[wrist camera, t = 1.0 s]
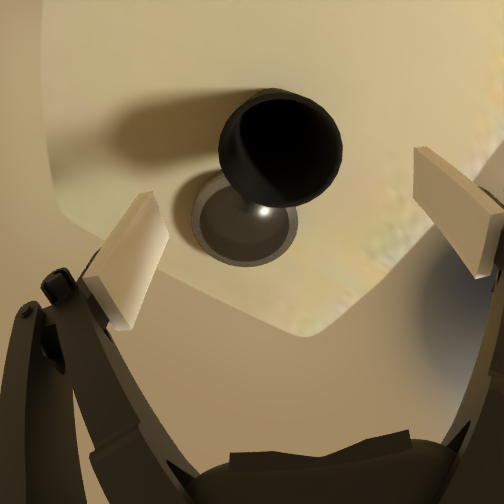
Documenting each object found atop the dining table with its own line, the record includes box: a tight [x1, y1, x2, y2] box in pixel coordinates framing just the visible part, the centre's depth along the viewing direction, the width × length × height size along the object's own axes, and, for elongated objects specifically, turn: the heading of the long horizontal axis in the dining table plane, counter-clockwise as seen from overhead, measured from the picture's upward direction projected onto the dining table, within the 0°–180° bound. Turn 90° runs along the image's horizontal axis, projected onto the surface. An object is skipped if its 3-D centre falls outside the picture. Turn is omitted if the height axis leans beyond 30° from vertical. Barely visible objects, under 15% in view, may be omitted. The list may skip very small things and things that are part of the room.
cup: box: [218, 88, 343, 208], centre depth 23 cm, size 8×8×12 cm
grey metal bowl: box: [191, 171, 298, 267], centre depth 34 cm, size 11×11×3 cm
